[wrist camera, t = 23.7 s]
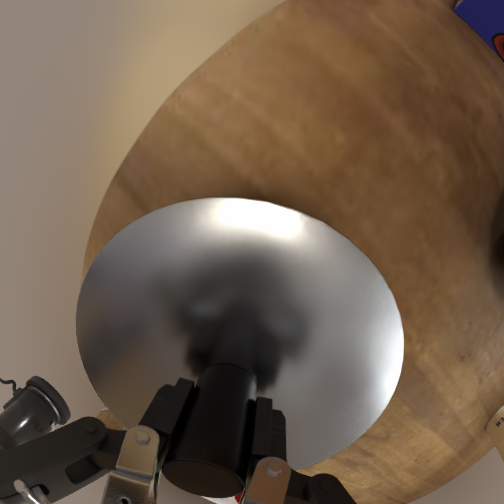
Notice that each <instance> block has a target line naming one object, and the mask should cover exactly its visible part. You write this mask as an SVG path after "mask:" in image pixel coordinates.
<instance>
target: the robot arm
mask: <svg viewBox="0 0 504 504" xmlns="http://www.w3.org/2000/svg"><path fill="white" fill-rule="evenodd" d="M0 382H1V383H3V384H13V387H12V388H13V392H14V393H13V396H14V397H13V398H12V399H10V400H9V401H8V402H7V403H6V404H5V405H4V406H3V408H4V411H3V412H2V413H1V414H0V504H52V503H54V502H56V501H58V500H60V499H62V498H64V497H66V496H68V495H70V494H72V493H74V492H75V491H77V490H79V489H81V488H83V487H85V486H86V485H88V484H90V483H91V482H93V481H95V480H97V479H99V478H100V477H102V476H104V475H105V474H107V473H109V472H110V473H109V476H108V479H107V482H106V486H105V490H104V493H103V497H102V501H101V504H156V502H157V494H158V487H159V480H160V473H161V468H162V464H163V462H164V460H165V457H166V455H167V452H168V450H169V448H170V445H171V443H172V440H173V438H174V436H175V433H176V431H177V428H178V426H179V424H180V421H181V419H182V416H183V414H184V412H185V409H186V407H187V404H188V402H189V400H190V397H191V395H192V392H193V390H194V385H195V381H191V380H188V379H184V378H181V377H179V379H178V381H177V383H176V385H175V386H172V385H169V384H165V385H164V386H162V387H161V388H159V389H158V391H157V393H156V394H155V397H154V398H153V400H152V401H151V403H150V405H149V407H148V408H147V410H146V412H145V413H144V415H143V417H142V419H141V420H140V422H139V424H138V425H137V426H133V427H131V428H129V429H128V430H115V429H109V428H106V426H105V424H104V423H103V422H102V421H101V420H99V419H97V418H94V417H83V418H81V419H78V420H77V421H74V422H72V423H70V424H68V425H65V426H64V427H61V428H59V429H57V430H55V425H56V424H57V423H58V422H59V421H60V420H61V413H60V411H59V409H58V407H57V406H56V404H55V403H54V402H53V400H52V399H51V398H50V397H49V396H48V395H47V394H46V393H45V392H44V391H43V390H41V389H40V388H39V387H37V386H34V385H31V386H30V385H29V384H28V385H26V386H25V387H24V388H23V389H22V388H20V387H19V388H18V389H17V390H16V382H15V381H14V380H7V381H5V380H2V379H1V378H0ZM272 407H273V399H271V398H265V397H260V396H257V397H256V400H255V406H254V415H253V424H252V433H251V442H250V450H249V458H248V469H247V477H246V488H245V490H244V491H243V494H242V497H241V499H240V502H239V504H356V502H355V501H354V500H353V499H352V497H351V496H350V495H349V493H348V492H347V491H346V489H345V488H344V487H343V485H342V484H341V483H340V481H339V480H338V479H337V478H336V477H334V476H333V475H330V474H325V473H322V474H317V475H315V476H313V477H310V476H307V475H304V474H301V473H298V472H296V471H294V470H293V469H292V468H291V467H290V466H289V464H288V462H287V453H286V418H285V416H284V414H283V413H282V411H281V410H275V409H272ZM51 430H52V432H50V431H51ZM49 432H50V433H49Z"/></svg>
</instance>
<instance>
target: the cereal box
mask: <svg viewBox="0 0 504 504" xmlns="http://www.w3.org/2000/svg"><path fill="white" fill-rule="evenodd" d="M453 11H454V12H455V13H456V14H457V15H459V16H460V17H461V18H462V19H463V20H464V21H465V22H466V23H468V24H469V25H470V26H471V27H472V28H473V29H474V30H475V31H476V32H477V33H478V34H479V35H480V36H481V37H482V38H483V39H484V40H485V41H486V42H487V43H488V44H489V46H490V47H491V48H492V49H493V50H494V51H495V52H496V53H497V54H498V56H499V57H500V58H501V59H502V60H503V61H504V0H458V2H457V4H456V6H455V8H454V10H453Z"/></svg>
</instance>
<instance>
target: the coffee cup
mask: <svg viewBox="0 0 504 504" xmlns="http://www.w3.org/2000/svg"><path fill="white" fill-rule="evenodd" d="M486 430H487V432H488V434H489V436H490V437H491V439H492V441H493V443H494V444H495V446H496V448H497V450H498V452H499V454H500V456H501V457H502V459H503V461H504V405H503V406H502V407H501V408H500V409H499V410H498V411H497V412H496V413H495V414H494V415H493V417H492V418H491V419H490V421H489V422H488V424H487V427H486Z"/></svg>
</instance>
